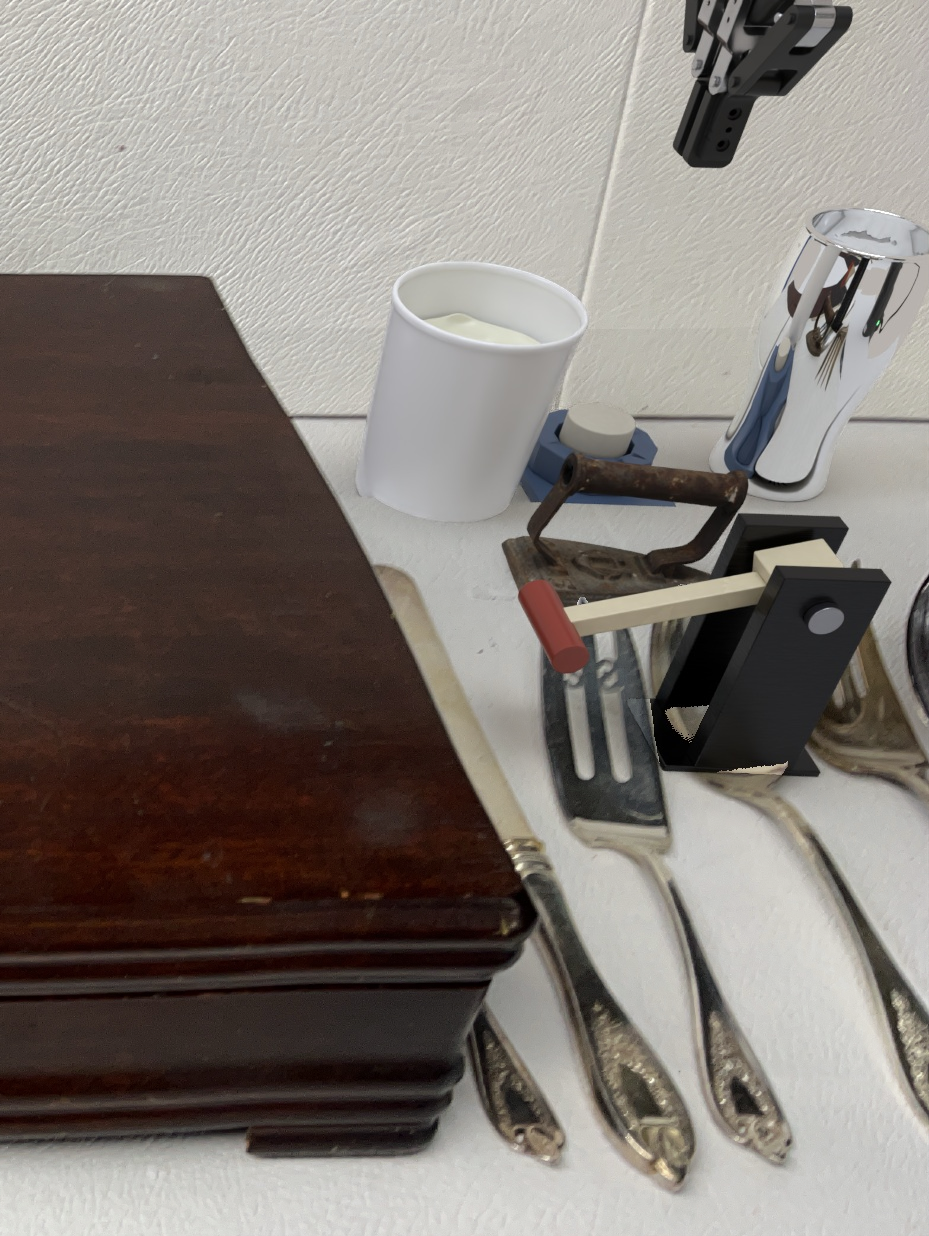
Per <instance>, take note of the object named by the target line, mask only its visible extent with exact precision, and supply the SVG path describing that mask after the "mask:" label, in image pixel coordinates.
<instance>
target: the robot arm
mask: <svg viewBox="0 0 929 1236" xmlns="http://www.w3.org/2000/svg"><path fill="white" fill-rule="evenodd" d="M853 18H854V11H853V8H852V7H851V6H850V5H833V0H685V7H684V20H683V33H682V51H683V52H684V53H687V54H694V57H693V59H692V62H691V68H690V73H691V76H692V78H694V79H696V80H695V81H694V84H693V87H692V89H691V92H690V95H689V97H688V101H687V103H686V106H685V108H684V111H683V114H682V117H681V119H680V122H679V125H678V128H677V131H676V133H675V136H674V138H673V142H672V149H673V150H674V151H675V152H676V153H677V154H678V155H679V156H680V157H682V159H683V160H684V162H685V163H686V164H687V165H688V166H689V167H690V168H694V169H723V168H725V167H727V166H729V165H730V164H731V163H732V161H733V159H734V158H735V157H734V156H735V154H736V153H737V149H738V147H739V144H740V142H741V140H742V136H743V134H744V131H745V129H746V126H747V123H748V121H749V118H750V116H751V113H752V110H753V108H754V106H755V102H756V101H757V100H758V99H759V98H760V97H786V96H788V95H789V93H790V92H791V91H792V90H793V89H794V88H795V87H796V86H797V85H798V83H800V82H801V80H803V79H804V77H805V76H806V75H807V74H808V73H809V72H810V71H811V70H812V69H813V68H814V67H815V66H816V65H817V63H819V62H820V60H822V58H823V57H824V56H825V55H826V54H827V53H828V52H829V51H830V50H831V49H832V48H833V47H834V46H835V45H836V44H837V42H839V40H840V39H842V37H843V36H844V35H845V34H846V33H847V32H848V30H850V27H851V25H852V22H853Z"/></svg>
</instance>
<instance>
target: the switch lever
mask: <svg viewBox="0 0 929 1236" xmlns="http://www.w3.org/2000/svg"><path fill="white" fill-rule="evenodd" d="M776 565H784V566H813V567H843V568H846V567H845V565H844V564H843V563H842V561H841V560H840V559H839V558H838V556H837V554H836V555H835V554H834V552H833V551H832V550H831V548H830V547H829V546H828V544H827V543H826V542H825V541H824V539H817V540H812V541H806V542H801V543H796V544H791V545H785V546H780V547H775V548H770V549H764V550H759V551H755V552H754V559H753V571H752V572H751V573H745V574H740V575H735V576H729V577H724V578H719V579H713V580H708V581H703V582H698V583H692V584H687V585H682V586H676V587H671V588H666V589H660V590H655V591H650V592H644V593H639V594H634V595H628V596H623V597H618V598H612V599H607V600H602V601H597V602H591V603H586V604H581V605H575V606H570V607H565V608H564V606H563V604H562V602H561V600H560V598H559V596H558V595H557V593H556V591H555V589H554V587H553V585H552V584H551V583H550V582H548V581H545V580H534V581H531V582H529V583H527V584H525V585H524V586H523V587H522V588H521V589H520V591H519V592H518V593H517V600H518V603H519V604H520V606H521V608H522V610H523V612H524V614H525V616H526V618H527V620H528V622H529V624H530V626H531V628H532V630H533V632H534V633H535V636H536V638H537V640H538V641H539V643H540V645H541V648H542V649H543V651H544V654H545V655H546V657H547V660H548V662H549V663H550V665H551V667H552V669H553V670H554V671H556V672H557V673H560V674H568V675H569V674H573V673H576V672H579V671H580V670H582V669H583V668H584V667H585V666H586V665H587V664H588V663H589V661H590V652H589V650H588V648H587V647H586V644H585V642H584V641H583V639H582V637H588V636H592V635H598V634H603V633H609V632H615V631H619V630H624V629H625V630H626V629H631V628H635V627H642V626H646V625H647V626H648V625H652V624H657V623H664V622H667V621H669V622H670V621H674V620H680V619H684V618H691V617H692V616H696V615H701V614H707V613H712V612H718V611H723V610H728V609H734V608H739V607H745V606H750V605H756V604H757V603H758V601H759V599H760V597H761V595H762V593H763V591H764V589H765V587H766V584H767V582H768V580H769V578H770V576H771V574H772V572H773V570H774V568H775V566H776Z"/></svg>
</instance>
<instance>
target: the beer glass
mask: <svg viewBox="0 0 929 1236" xmlns="http://www.w3.org/2000/svg"><path fill="white" fill-rule="evenodd" d="M928 291H929V226H928V224H927V225H926V224H925V223H923V222H921V221H920V220H917V219H915V218H912V217H909V216H906V215H903V214H900V213H897V212H893V211H890V210H886V209H880V208H875V207H868V206H862V205H861V206H860V205H845V204H844V205H842V204H841V205H830V206H829V205H828V206H823V207H819V208H816V209H814V210H812V211H810V212H809V213H808V214H807V215H806V216H805V218H804V221H803V223H802V225H801V227H800V230H799V231H798V233H797V236H796V237H795V239H794V241H793V243H792V245H791V246H790V248H789V250H788V253H787V254H786V256H785V257H784V259H783V262H782V263H781V266H780V268H779V270H778V272H777V275H776V277H775V278H774V281H773V283H772V286H771V288H770V290H769V293H768V296H767V298H766V301H765V304H764V307H763V309H762V311H761V316H760V320H759V324H758V326H757V331H756V335H755V339H754V344H753V349H752V354H751V359H750V363H749V368H748V369H749V370H748V373H747V379H746V382H745V387H744V391H743V395H742V397H741V401H740V404H739V406H738V408H737V410H736V413H735V414H734V416H733V419H732V420H731V422H730V423H729V425H728V427H727V428H726V430H725V431H724V433H723V434H722V436H720V439H718V441H717V443H715V444H716V445H715V446H714V447H713V449H712V451H711V452H710V455H709V457H708V465H709V468H710V470H711V472H714V473H723V474H727V473H728V472H730V471H733V470H743V471H745V472H746V473H747V475H748V483H749V486H748V491H747V495H749V496H753V497H755V498H759V499H764V500H769V501H774V502H782V503H783V502H785V503H794V502H795V503H796V502H797V503H798V502H805V501H808V500H812V499H814V498H816V497H818V496H820V494H821V493H822V492H823V491H824V489H825V487H826V485H827V482H828V478H829V474H830V469H831V465H832V460H833V456H834V453H835V451H836V450H835V449H836V447H837V445H838V441H839V439H840V437H841V435H842V433H843V431H844V430H845V427H846V426H847V424H848V422H849V421H850V419H851V418H852V416H853V415H854V413H856V411H857V409H858V408H859V406H860V405H861V404H862V402H863V401H864V400H865V398H866V397H867V395H868V394H869V393H870V391H872V389H873V388H874V386H875V385H876V383H877V382H878V381H879V379H880V378H881V376H882V375H883V374H884V372H885V371H886V370H887V368H888V367H889V365H890V364H891V362H892V361H893V359H894V358H895V356H897V355H896V354H897V353H898V352H899V350H900V349H901V347H902V345H903V344H904V342H905V340H906V338H907V336H908V334H909V332H910V331H911V329H912V327H913V325H914V323H915V321H916V318H917V316H918V314H919V312H920V310H921V308H922V305H923V303H924V301H925V298H926V295H927V293H928Z"/></svg>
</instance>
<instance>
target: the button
mask: <svg viewBox="0 0 929 1236" xmlns="http://www.w3.org/2000/svg"><path fill="white" fill-rule="evenodd" d="M567 410H568V413H567V415H566V418H565V421H564V424H563V426H562V429H561V432H560V435H559V440H560V442H561V443H562V444H563V445H565V446H567V447H568V448H570V449H572V450H573V451H575V452H577V453H582V454H585V455H588V456H592V457H595V458H619V457H622V456H623V455H624V454H625V453H626V451H627V449H628V446H629V443H630V441H631V438H632V436H633V433H634V431H635V428H636V427H637V422H636V420H635V418H634V417H633V416H632V415H631V414H630V413H629V412H627V411H625V410H624V409H621V408H620V407H617V406H614V405H611V404H608V403H604V402H603V403H602V402H595V401H585V402H584V401H583V402H578V403H576V404H574V405H571V407H569V409H567Z"/></svg>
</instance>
